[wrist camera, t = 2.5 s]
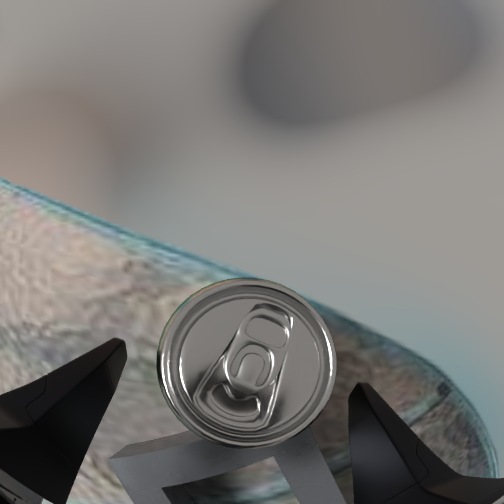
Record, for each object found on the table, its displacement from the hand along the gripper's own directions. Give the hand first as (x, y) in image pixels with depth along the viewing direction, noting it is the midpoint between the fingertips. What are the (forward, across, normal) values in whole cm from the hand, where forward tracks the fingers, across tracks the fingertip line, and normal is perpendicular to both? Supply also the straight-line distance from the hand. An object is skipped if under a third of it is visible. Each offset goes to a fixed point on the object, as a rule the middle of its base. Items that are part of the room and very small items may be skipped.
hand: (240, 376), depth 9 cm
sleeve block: (-1, -2, +13) cm, 13 cm away
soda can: (+6, 0, +6) cm, 9 cm away
